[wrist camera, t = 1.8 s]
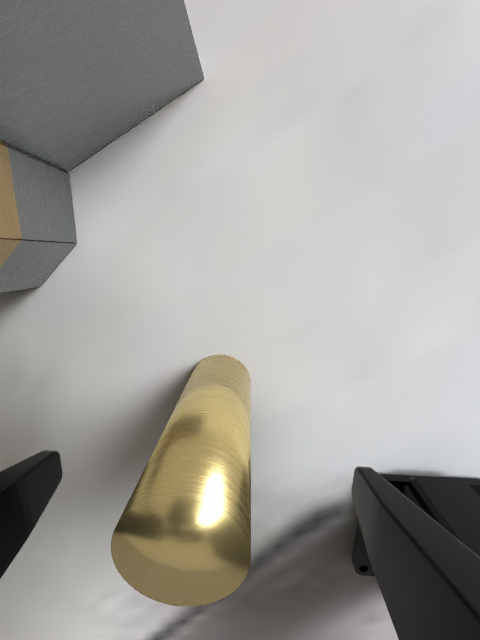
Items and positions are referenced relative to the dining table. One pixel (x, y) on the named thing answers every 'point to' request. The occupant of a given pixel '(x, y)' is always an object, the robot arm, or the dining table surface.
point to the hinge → (74, 108)
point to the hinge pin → (194, 495)
